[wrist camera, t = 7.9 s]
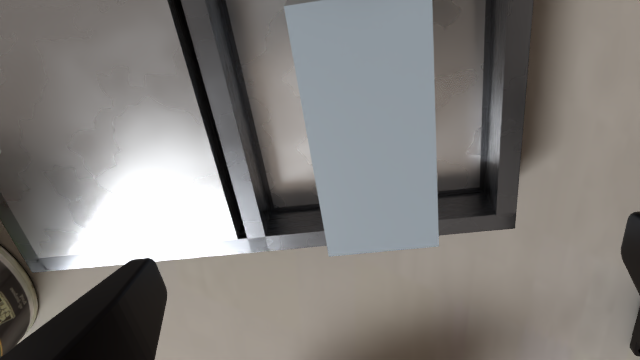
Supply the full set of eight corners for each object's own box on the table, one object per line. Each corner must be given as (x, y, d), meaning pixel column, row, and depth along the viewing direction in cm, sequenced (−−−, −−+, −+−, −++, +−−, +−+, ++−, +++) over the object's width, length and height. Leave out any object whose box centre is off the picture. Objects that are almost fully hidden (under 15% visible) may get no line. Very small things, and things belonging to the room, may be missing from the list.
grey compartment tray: (516, -163, 15) (556, -179, 12) (496, 195, 22) (519, 237, 19) (-96, -55, 17) (-179, -48, 14) (60, 238, 24) (24, 281, 21)
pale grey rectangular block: (402, -42, 16) (431, -17, 11) (413, 159, 20) (439, 246, 15) (301, -26, 17) (283, 6, 11) (331, 168, 21) (329, 256, 15)
